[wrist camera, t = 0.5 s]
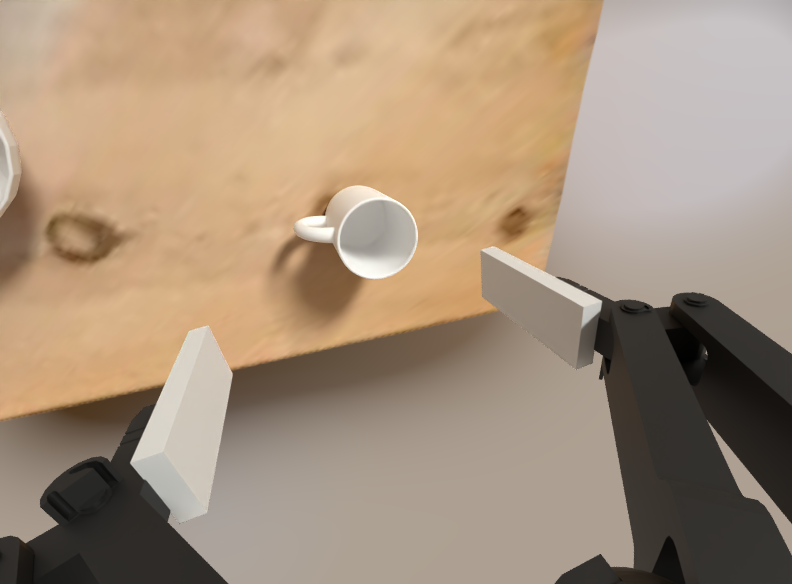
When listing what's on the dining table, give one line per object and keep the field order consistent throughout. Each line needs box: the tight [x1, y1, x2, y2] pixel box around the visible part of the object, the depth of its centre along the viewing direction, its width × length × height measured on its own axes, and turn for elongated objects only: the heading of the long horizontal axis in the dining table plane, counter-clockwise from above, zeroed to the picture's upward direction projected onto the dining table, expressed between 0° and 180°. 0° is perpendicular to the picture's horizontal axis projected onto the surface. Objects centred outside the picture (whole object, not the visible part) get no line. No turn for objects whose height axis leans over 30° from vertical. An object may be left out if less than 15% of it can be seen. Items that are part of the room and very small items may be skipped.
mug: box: [293, 186, 418, 279], centre depth 37 cm, size 12×8×10 cm
